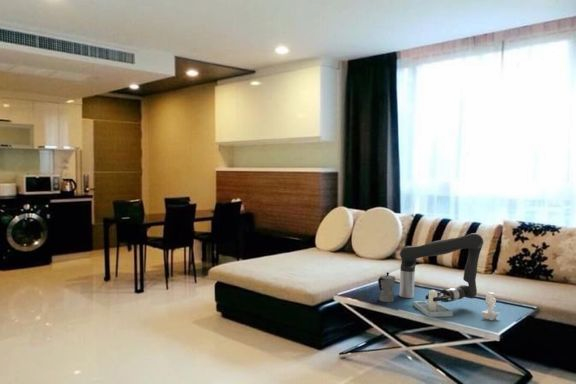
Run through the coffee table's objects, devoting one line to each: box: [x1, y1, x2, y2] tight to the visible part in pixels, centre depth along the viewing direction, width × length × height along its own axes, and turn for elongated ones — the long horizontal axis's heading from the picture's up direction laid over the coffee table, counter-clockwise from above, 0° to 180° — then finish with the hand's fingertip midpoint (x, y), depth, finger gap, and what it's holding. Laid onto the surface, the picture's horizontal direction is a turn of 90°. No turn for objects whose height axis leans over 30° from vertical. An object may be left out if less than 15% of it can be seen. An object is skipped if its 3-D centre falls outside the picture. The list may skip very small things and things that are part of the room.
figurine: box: [480, 291, 500, 321], centre depth 260 cm, size 7×9×15 cm
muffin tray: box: [412, 300, 454, 318], centre depth 273 cm, size 22×15×3 cm
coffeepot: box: [377, 271, 396, 303], centre depth 291 cm, size 15×9×18 cm, turn 129°
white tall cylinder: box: [428, 289, 438, 311], centre depth 265 cm, size 5×5×12 cm
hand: (429, 298), depth 263 cm, fingers closed on white tall cylinder, 4 cm apart
